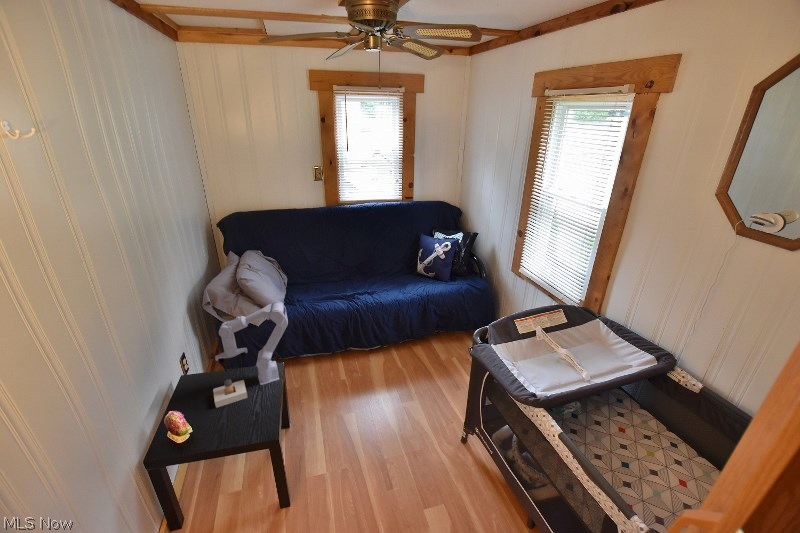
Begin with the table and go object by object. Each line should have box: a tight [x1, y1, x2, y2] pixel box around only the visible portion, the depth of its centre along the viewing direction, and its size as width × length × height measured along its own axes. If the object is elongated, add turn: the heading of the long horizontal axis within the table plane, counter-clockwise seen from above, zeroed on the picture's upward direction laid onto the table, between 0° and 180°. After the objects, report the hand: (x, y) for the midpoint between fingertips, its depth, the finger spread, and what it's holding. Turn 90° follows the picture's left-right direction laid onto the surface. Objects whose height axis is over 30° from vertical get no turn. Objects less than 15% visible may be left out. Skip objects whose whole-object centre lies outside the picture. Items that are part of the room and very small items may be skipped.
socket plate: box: [212, 379, 248, 409], centre depth 179 cm, size 14×10×4 cm
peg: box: [223, 378, 234, 395], centre depth 178 cm, size 3×3×9 cm
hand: (234, 367), depth 185 cm, fingers open, 7 cm apart
